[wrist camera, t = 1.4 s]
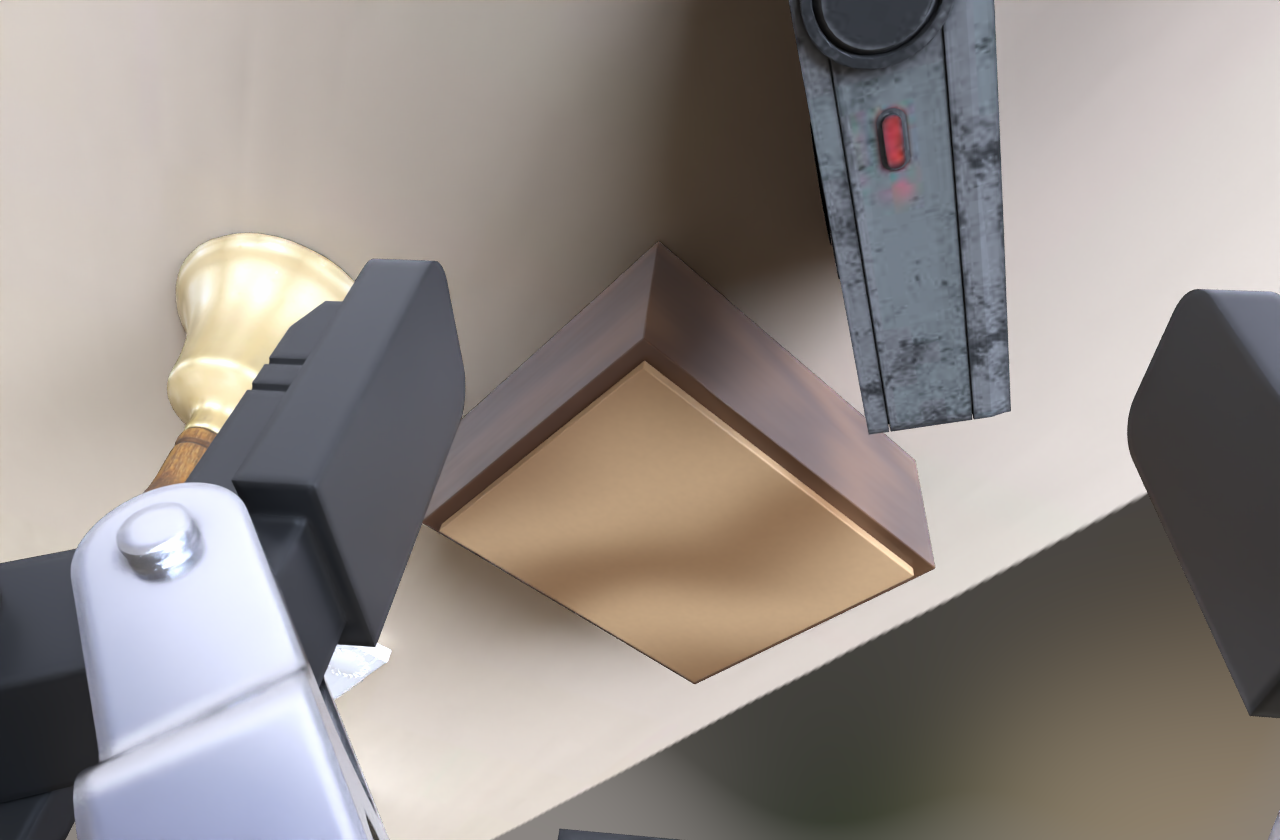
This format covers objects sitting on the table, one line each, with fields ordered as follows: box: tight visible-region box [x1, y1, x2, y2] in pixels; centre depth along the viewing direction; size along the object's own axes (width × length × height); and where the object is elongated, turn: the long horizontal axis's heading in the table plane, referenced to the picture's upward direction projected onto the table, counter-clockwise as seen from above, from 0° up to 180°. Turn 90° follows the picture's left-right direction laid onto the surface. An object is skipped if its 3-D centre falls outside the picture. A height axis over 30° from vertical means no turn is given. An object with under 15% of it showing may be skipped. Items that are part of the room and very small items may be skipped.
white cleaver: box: [324, 643, 391, 700], centre depth 54 cm, size 5×15×1 cm, turn 138°
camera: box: [789, 0, 1011, 435], centre depth 22 cm, size 16×4×10 cm, turn 17°
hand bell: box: [142, 233, 355, 494], centre depth 30 cm, size 8×8×16 cm
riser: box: [422, 241, 935, 684], centre depth 36 cm, size 15×13×6 cm
